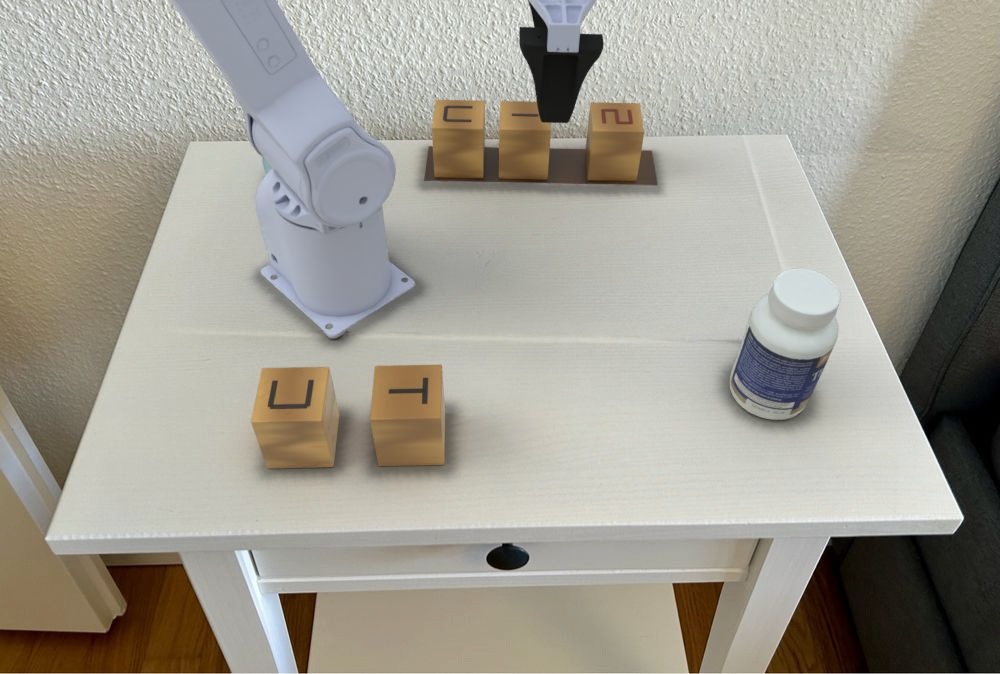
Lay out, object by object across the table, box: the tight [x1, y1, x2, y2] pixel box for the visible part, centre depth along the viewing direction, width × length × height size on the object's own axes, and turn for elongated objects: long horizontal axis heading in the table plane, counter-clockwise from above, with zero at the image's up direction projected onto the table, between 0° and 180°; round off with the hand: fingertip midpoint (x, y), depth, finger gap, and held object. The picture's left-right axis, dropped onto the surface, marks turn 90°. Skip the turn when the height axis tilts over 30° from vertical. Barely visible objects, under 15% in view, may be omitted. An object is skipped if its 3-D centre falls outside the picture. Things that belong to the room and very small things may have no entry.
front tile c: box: [250, 366, 341, 470], centre depth 53 cm, size 4×4×5 cm
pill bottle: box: [729, 267, 842, 421], centre depth 54 cm, size 5×5×10 cm
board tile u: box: [431, 99, 486, 178], centre depth 72 cm, size 4×4×5 cm
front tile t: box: [369, 364, 446, 467], centre depth 53 cm, size 4×4×5 cm
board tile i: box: [498, 100, 552, 180], centre depth 72 cm, size 4×4×5 cm
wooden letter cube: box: [585, 101, 645, 181], centre depth 72 cm, size 4×4×5 cm
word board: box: [423, 145, 658, 186], centre depth 74 cm, size 20×5×1 cm, turn 89°
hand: (553, 91), depth 65 cm, fingers open, 7 cm apart
